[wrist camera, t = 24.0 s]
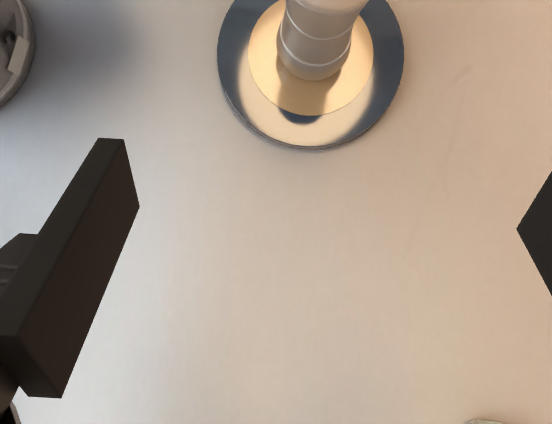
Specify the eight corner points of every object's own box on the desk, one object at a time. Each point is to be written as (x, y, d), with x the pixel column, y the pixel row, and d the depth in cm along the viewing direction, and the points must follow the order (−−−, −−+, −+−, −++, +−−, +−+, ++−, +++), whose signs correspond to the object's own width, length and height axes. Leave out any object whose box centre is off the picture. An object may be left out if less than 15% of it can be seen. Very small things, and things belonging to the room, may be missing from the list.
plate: (180, 51, 42) (177, 45, 40) (316, -67, 42) (318, -77, 41) (302, 187, 41) (303, 185, 40) (438, 66, 42) (443, 61, 40)
